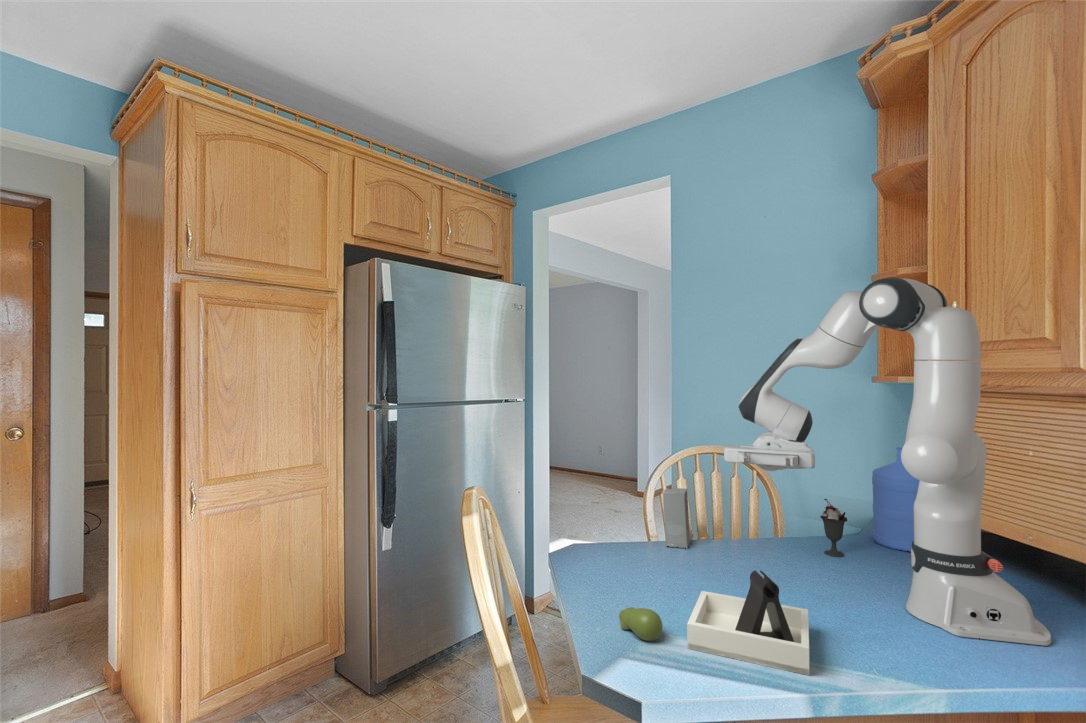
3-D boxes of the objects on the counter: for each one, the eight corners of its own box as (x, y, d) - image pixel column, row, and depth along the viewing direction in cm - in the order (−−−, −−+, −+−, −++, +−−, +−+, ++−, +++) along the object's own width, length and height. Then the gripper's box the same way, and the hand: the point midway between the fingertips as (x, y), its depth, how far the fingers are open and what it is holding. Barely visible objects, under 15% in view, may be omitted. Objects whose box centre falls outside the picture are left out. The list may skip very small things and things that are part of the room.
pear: (644, 617, 97) (610, 606, 105) (648, 647, 96) (614, 634, 105) (666, 609, 100) (632, 599, 108) (670, 639, 99) (635, 626, 107)
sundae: (816, 549, 149) (815, 496, 150) (841, 550, 148) (840, 497, 149) (825, 557, 143) (824, 502, 143) (852, 558, 142) (851, 502, 142)
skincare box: (687, 549, 149) (687, 493, 150) (662, 546, 152) (662, 491, 152) (690, 540, 157) (690, 487, 158) (666, 538, 160) (666, 485, 160)
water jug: (950, 555, 144) (948, 453, 145) (887, 552, 147) (886, 451, 148) (920, 537, 160) (918, 445, 160) (863, 534, 163) (862, 444, 163)
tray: (808, 632, 102) (807, 609, 102) (809, 675, 88) (809, 648, 88) (701, 612, 111) (701, 590, 111) (687, 648, 96) (687, 623, 96)
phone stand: (746, 650, 94) (745, 582, 94) (734, 633, 100) (733, 570, 100) (796, 650, 94) (796, 582, 94) (782, 633, 100) (781, 570, 100)
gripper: (726, 438, 138) (719, 444, 126) (814, 442, 129) (815, 450, 117) (726, 462, 138) (719, 471, 126) (814, 468, 129) (815, 478, 117)
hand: (766, 461), depth 121 cm, fingers open, 8 cm apart
